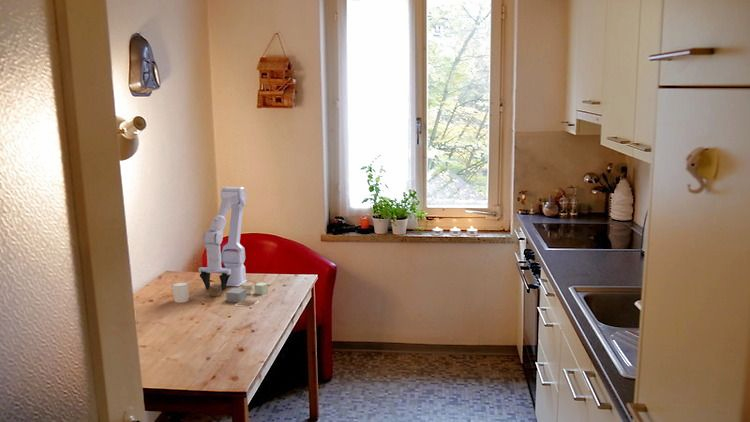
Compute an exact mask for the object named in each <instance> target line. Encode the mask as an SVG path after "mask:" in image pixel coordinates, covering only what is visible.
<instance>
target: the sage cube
mask: <svg viewBox="0 0 750 422" xmlns="http://www.w3.org/2000/svg"><path fill="white" fill-rule="evenodd" d="M268 284H269V283H266V282H261V281H260V282H258V283H256V284H255V283H254V295H262V296H263V295H265V294H267V293H269V285H268Z"/></svg>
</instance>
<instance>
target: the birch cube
mask: <svg viewBox="0 0 750 422" xmlns="http://www.w3.org/2000/svg"><path fill="white" fill-rule="evenodd" d="M241 289H246V294H247V295H252V294H253V292H255V289H254V282H248V281H247V282H244V283H243V284H242V285H241Z"/></svg>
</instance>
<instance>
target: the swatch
mask: <svg viewBox="0 0 750 422" xmlns="http://www.w3.org/2000/svg"><path fill="white" fill-rule="evenodd" d="M259 302H260V301H259V300H255V299H253V300H252V299H244V300H242V301H241V302H237V303H236V304H235V305H234V306H235V307H242V308H244V307H245V308H253V307H254V306H255V305H257V304H259Z"/></svg>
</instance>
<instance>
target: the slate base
mask: <svg viewBox="0 0 750 422" xmlns="http://www.w3.org/2000/svg"><path fill="white" fill-rule="evenodd" d="M225 293H226V295H225V296H226V302H231V303H232V302H234V303H239V302H241V301H242V300H247V297H248V296H247V295H248V294H246V289H242V288H237V287H233V288H231V289H229V290H228V291H226V292H225Z"/></svg>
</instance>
